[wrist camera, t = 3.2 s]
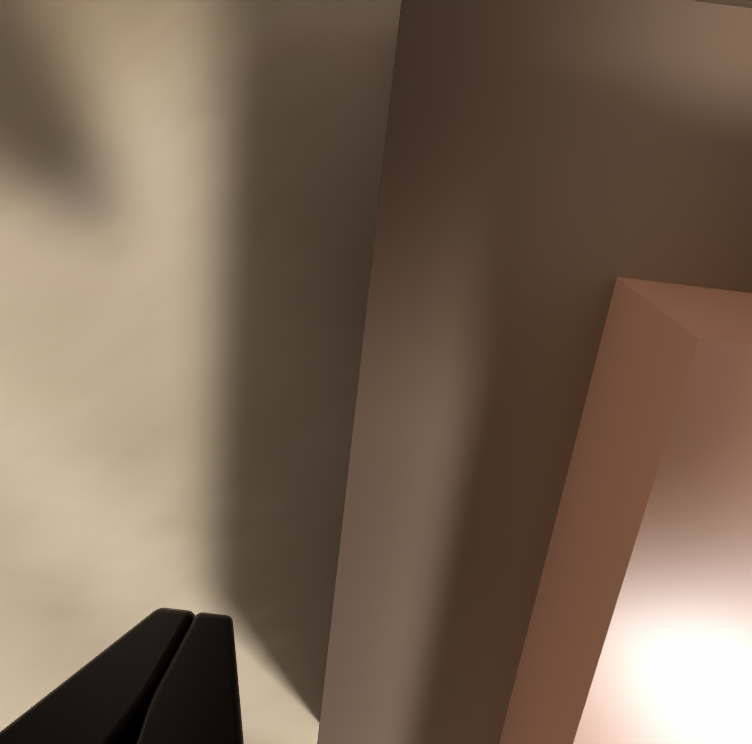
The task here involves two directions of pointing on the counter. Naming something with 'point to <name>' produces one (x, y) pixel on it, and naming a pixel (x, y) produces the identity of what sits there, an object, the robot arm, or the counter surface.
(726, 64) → the wooden block
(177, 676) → the robot arm
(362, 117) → the counter surface
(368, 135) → the counter surface
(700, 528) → the salmon pink brick
